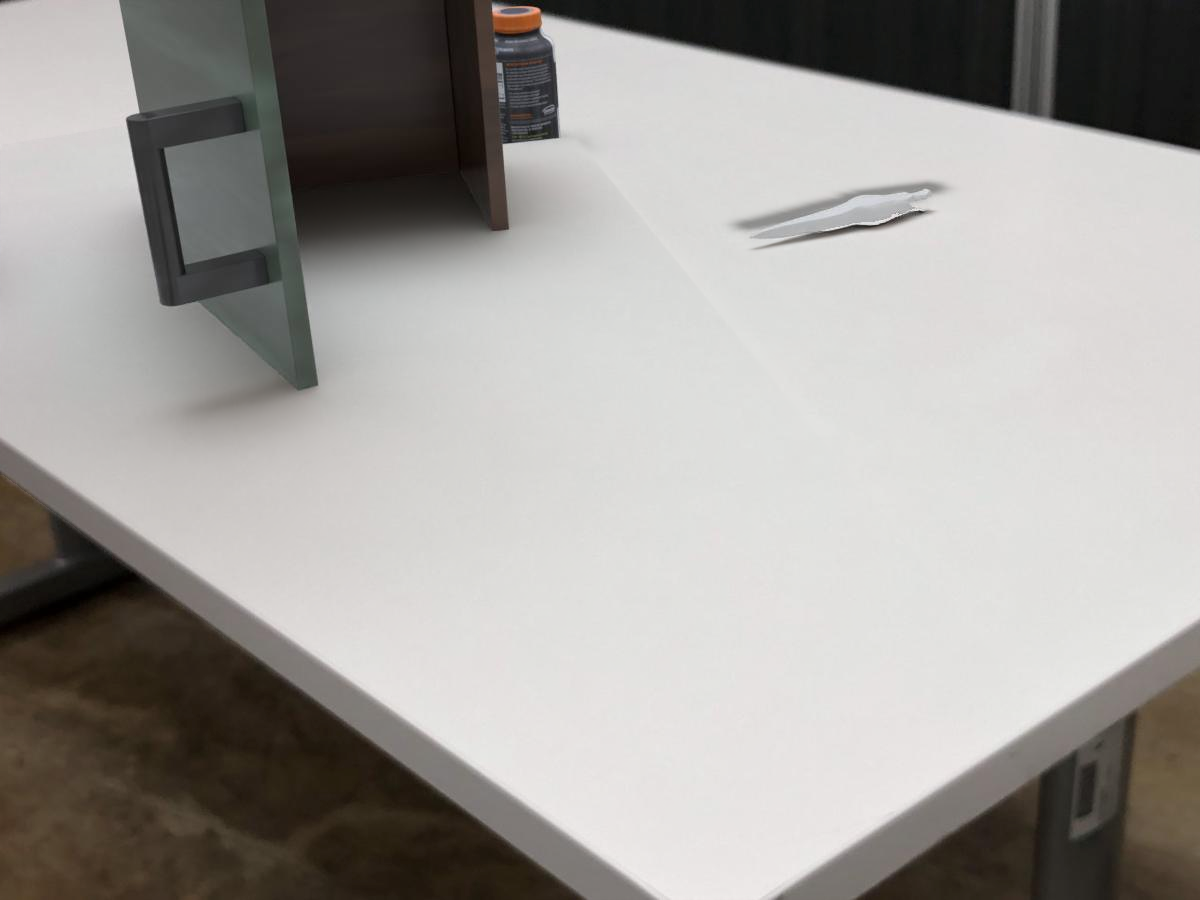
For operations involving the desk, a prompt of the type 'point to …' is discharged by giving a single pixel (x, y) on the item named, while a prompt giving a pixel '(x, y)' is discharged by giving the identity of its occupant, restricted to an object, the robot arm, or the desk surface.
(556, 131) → the pill bottle
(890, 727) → the desk surface
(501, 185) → the cupboard
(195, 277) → the cupboard door
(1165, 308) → the desk surface
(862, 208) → the grey tapered strip
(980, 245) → the desk surface
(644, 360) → the desk surface
